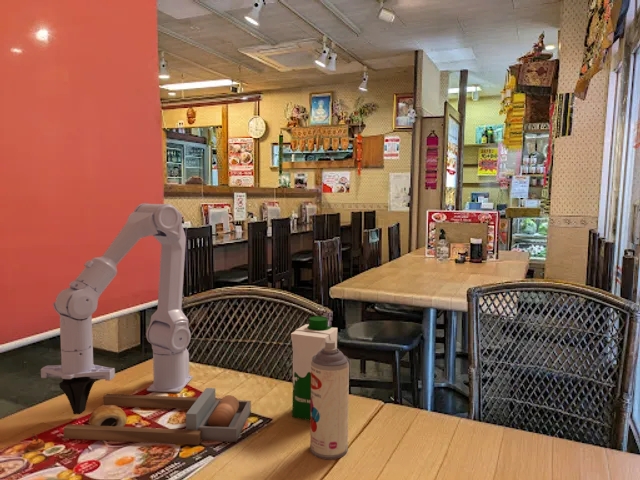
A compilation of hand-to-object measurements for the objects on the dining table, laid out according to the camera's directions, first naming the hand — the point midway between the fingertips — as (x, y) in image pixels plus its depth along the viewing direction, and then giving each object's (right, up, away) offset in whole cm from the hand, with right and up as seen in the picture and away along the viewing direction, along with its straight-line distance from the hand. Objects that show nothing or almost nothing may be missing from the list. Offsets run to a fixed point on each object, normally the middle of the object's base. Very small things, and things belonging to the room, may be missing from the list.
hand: (79, 412), depth 95 cm
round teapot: (-2, -3, -11) cm, 11 cm away
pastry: (+7, -2, -2) cm, 7 cm away
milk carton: (+48, -2, +4) cm, 48 cm away
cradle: (+31, -2, -2) cm, 31 cm away
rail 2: (+14, -2, -8) cm, 16 cm away
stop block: (+26, -2, -2) cm, 26 cm away
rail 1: (+15, -1, +6) cm, 16 cm away
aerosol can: (+51, -3, -11) cm, 52 cm away
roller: (+31, -1, -2) cm, 31 cm away
